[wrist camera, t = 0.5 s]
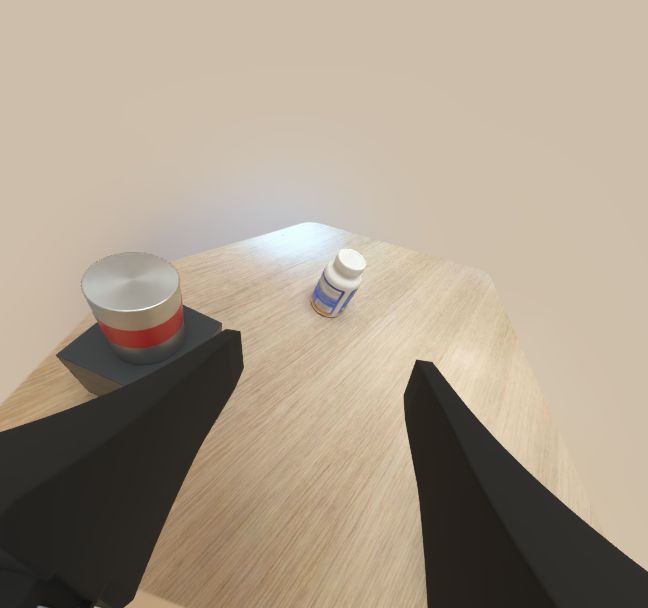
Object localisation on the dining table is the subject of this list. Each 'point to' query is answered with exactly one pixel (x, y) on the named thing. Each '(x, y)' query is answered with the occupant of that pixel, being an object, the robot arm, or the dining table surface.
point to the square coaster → (111, 371)
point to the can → (137, 305)
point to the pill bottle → (338, 283)
